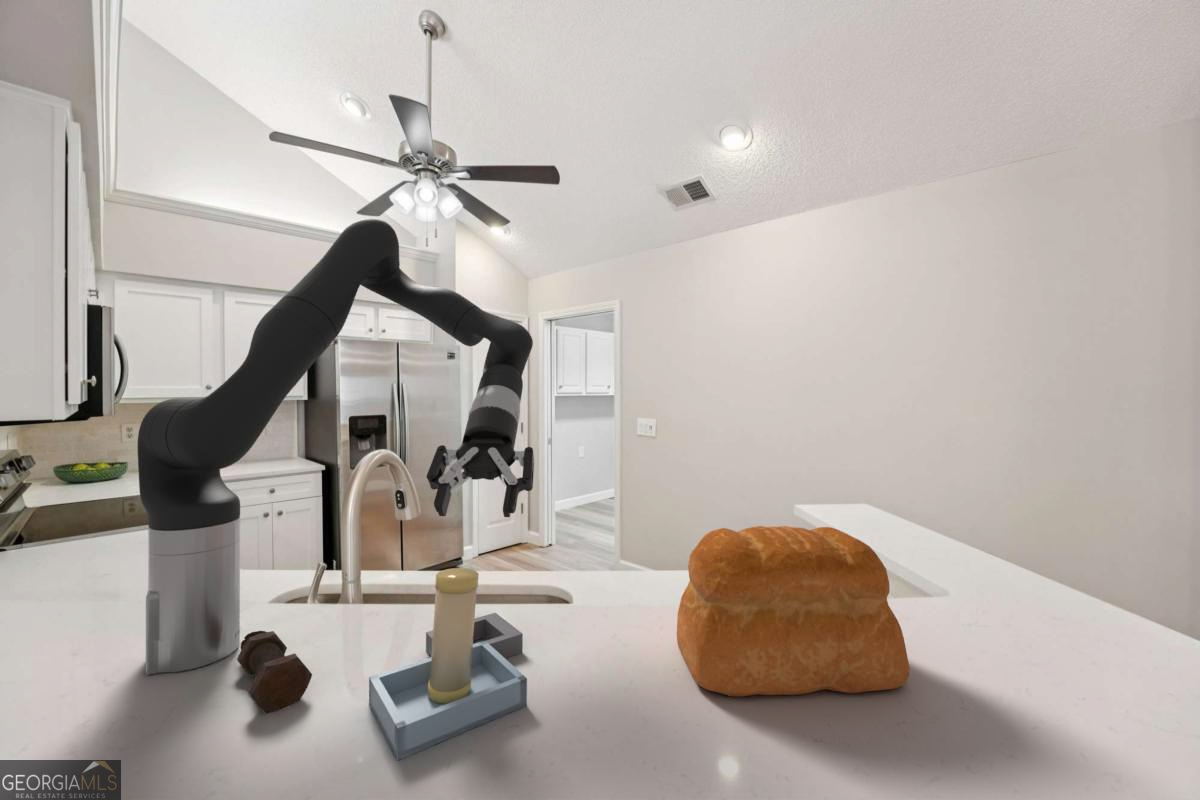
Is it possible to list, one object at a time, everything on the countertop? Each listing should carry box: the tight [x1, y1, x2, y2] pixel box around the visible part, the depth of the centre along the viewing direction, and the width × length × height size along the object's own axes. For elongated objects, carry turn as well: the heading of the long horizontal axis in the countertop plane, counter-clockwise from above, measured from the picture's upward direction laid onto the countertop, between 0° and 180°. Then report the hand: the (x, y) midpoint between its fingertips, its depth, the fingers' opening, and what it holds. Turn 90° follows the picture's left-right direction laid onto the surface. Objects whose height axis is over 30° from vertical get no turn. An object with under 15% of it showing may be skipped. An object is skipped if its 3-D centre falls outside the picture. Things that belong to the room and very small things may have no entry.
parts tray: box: [368, 640, 528, 761], centre depth 54 cm, size 14×11×3 cm
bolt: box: [236, 630, 313, 714], centre depth 59 cm, size 6×5×15 cm
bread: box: [676, 525, 910, 697], centre depth 64 cm, size 16×26×17 cm, turn 94°
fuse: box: [428, 567, 479, 704], centre depth 56 cm, size 5×5×13 cm
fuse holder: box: [425, 612, 524, 659], centre depth 66 cm, size 10×8×2 cm
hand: (473, 513), depth 65 cm, fingers open, 8 cm apart
